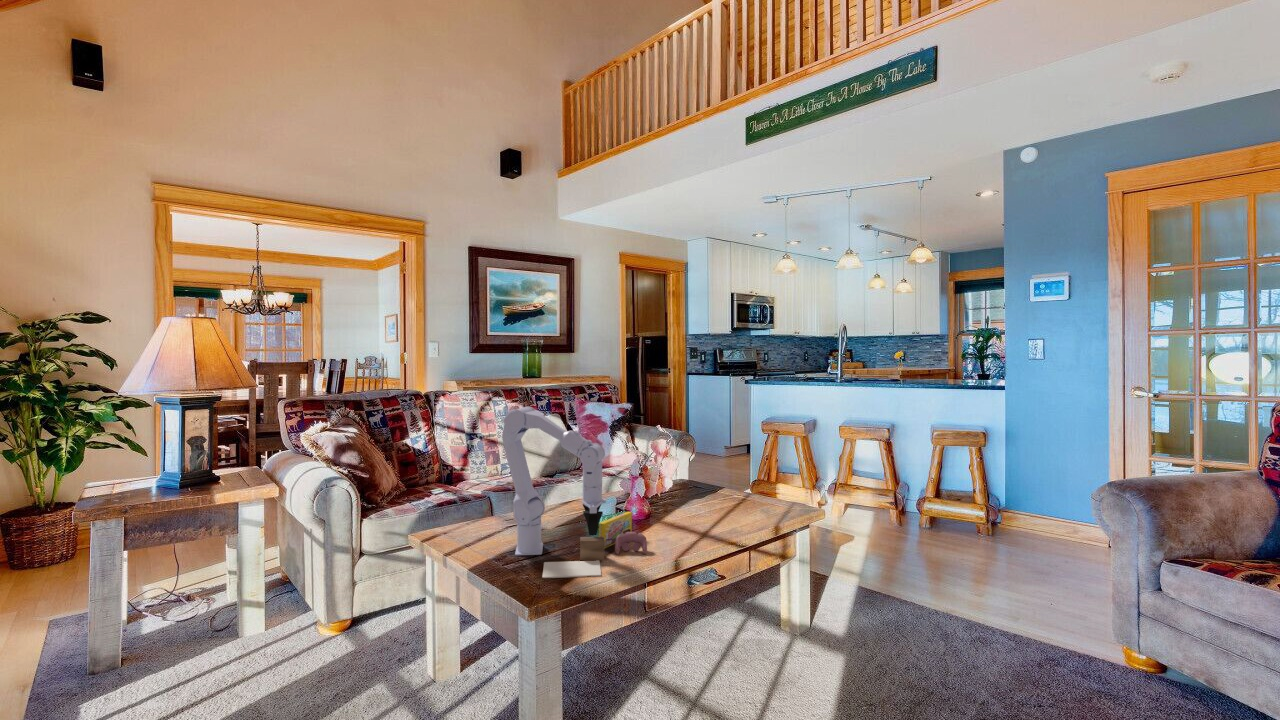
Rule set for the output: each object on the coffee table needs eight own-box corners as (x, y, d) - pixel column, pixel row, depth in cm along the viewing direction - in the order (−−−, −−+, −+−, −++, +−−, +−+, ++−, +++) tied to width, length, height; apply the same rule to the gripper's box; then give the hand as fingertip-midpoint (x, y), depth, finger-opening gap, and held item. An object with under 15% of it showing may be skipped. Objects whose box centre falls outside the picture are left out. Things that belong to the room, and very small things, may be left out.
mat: (544, 563, 177) (544, 562, 177) (599, 561, 179) (599, 560, 179) (542, 578, 166) (542, 576, 166) (601, 576, 168) (601, 574, 168)
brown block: (580, 557, 183) (580, 537, 183) (603, 556, 184) (603, 536, 184) (580, 561, 180) (580, 540, 180) (604, 560, 181) (604, 540, 180)
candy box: (603, 550, 189) (603, 523, 189) (597, 549, 191) (598, 522, 190) (632, 536, 203) (632, 511, 203) (627, 535, 204) (627, 510, 204)
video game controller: (646, 555, 189) (646, 532, 192) (647, 553, 185) (647, 530, 188) (614, 556, 189) (614, 532, 192) (614, 554, 184) (614, 530, 187)
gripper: (607, 491, 175) (607, 538, 175) (604, 479, 189) (604, 523, 189) (582, 491, 174) (582, 539, 174) (581, 480, 188) (581, 523, 189)
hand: (592, 530), depth 182 cm, fingers open, 7 cm apart
